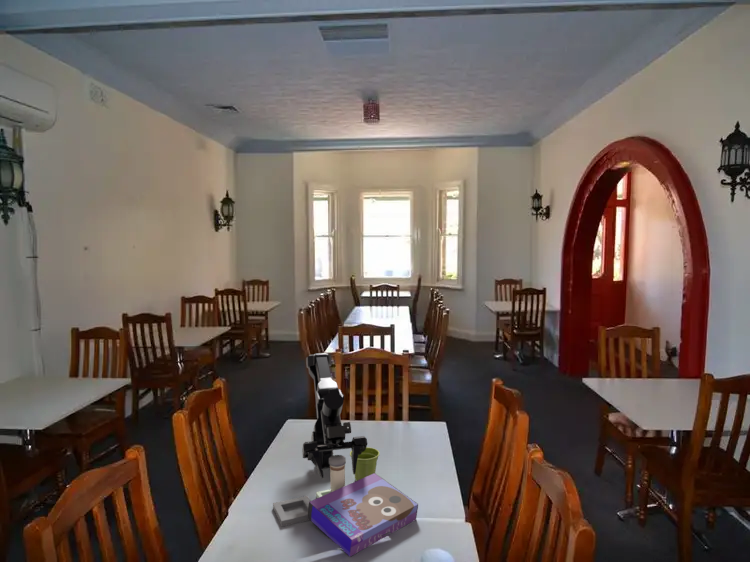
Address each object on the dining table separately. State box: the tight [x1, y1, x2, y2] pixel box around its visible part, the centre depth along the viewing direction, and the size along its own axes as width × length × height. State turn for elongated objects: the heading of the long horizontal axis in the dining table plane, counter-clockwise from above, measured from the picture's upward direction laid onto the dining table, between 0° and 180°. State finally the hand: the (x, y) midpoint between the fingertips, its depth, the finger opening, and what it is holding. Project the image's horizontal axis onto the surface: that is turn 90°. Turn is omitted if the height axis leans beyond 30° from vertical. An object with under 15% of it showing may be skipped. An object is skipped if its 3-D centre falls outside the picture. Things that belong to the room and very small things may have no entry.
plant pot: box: [349, 446, 380, 482], centre depth 167 cm, size 9×9×9 cm
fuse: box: [329, 454, 347, 492], centre depth 151 cm, size 5×5×13 cm
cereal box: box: [308, 472, 419, 557], centre depth 141 cm, size 17×5×24 cm
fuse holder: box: [272, 495, 311, 527], centre depth 146 cm, size 10×10×2 cm
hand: (338, 475), depth 150 cm, fingers open, 9 cm apart
